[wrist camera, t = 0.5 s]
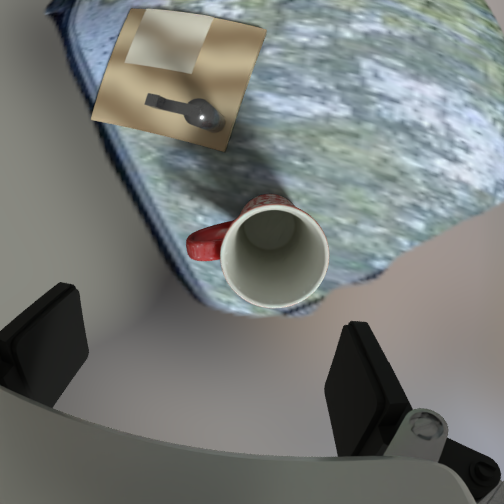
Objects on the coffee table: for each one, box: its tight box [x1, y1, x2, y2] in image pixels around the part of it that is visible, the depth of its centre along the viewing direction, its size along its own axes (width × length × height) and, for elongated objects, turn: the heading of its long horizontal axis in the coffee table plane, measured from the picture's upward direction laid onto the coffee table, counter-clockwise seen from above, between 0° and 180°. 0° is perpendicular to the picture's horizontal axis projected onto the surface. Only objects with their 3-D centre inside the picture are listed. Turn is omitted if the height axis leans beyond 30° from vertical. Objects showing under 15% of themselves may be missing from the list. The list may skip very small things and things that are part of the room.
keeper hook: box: [144, 93, 225, 133], centre depth 27 cm, size 2×5×12 cm, turn 72°
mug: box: [186, 194, 329, 308], centre depth 32 cm, size 13×9×14 cm
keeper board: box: [91, 8, 267, 152], centre depth 32 cm, size 16×18×2 cm
